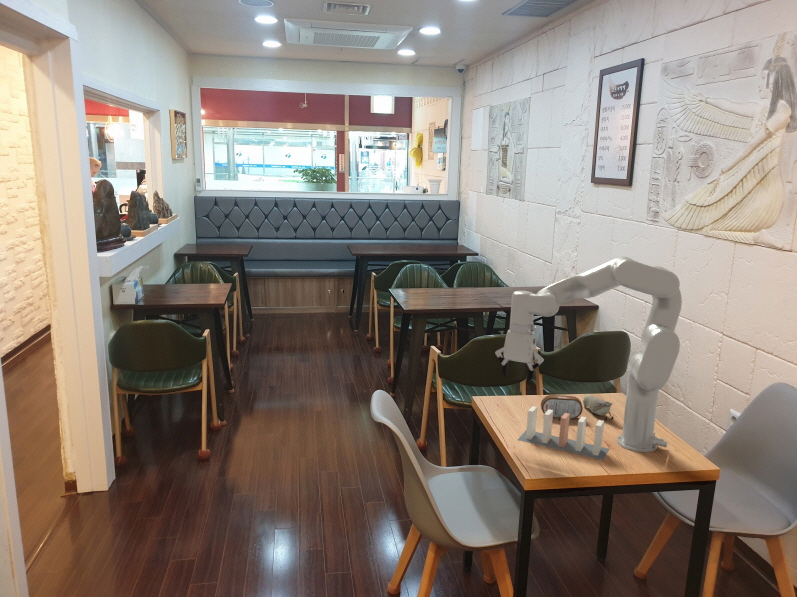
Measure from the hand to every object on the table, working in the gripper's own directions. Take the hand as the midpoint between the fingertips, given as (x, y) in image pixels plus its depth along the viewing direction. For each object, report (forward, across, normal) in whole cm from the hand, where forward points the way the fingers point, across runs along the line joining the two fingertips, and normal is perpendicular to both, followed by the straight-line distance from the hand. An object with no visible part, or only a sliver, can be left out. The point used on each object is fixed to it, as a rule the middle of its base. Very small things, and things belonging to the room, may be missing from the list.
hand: (517, 378), depth 203 cm
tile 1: (+20, -6, 0) cm, 21 cm away
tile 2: (+20, -12, 0) cm, 23 cm away
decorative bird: (+20, -21, -35) cm, 45 cm away
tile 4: (+20, -22, 0) cm, 30 cm away
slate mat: (+20, -17, 0) cm, 26 cm away
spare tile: (+20, -17, 0) cm, 26 cm away
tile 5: (+20, -28, 0) cm, 34 cm away
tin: (+20, -10, -24) cm, 33 cm away
